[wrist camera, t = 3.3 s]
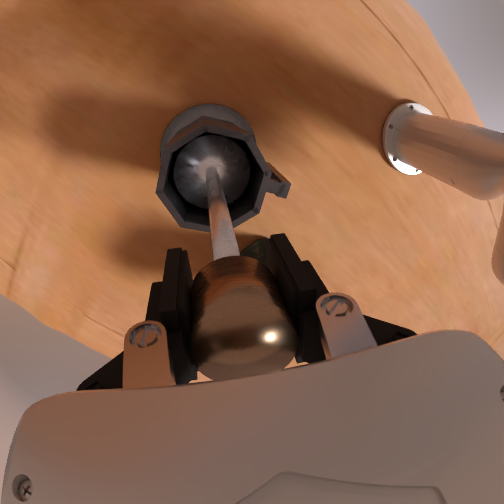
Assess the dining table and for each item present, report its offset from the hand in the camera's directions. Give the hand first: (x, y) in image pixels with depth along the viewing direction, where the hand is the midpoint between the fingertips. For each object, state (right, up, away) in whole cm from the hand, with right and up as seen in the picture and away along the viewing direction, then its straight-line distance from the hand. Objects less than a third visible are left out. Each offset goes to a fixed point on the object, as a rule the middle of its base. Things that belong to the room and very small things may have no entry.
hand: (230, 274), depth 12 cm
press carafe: (-5, +15, +27) cm, 31 cm away
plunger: (-3, +9, +15) cm, 18 cm away
